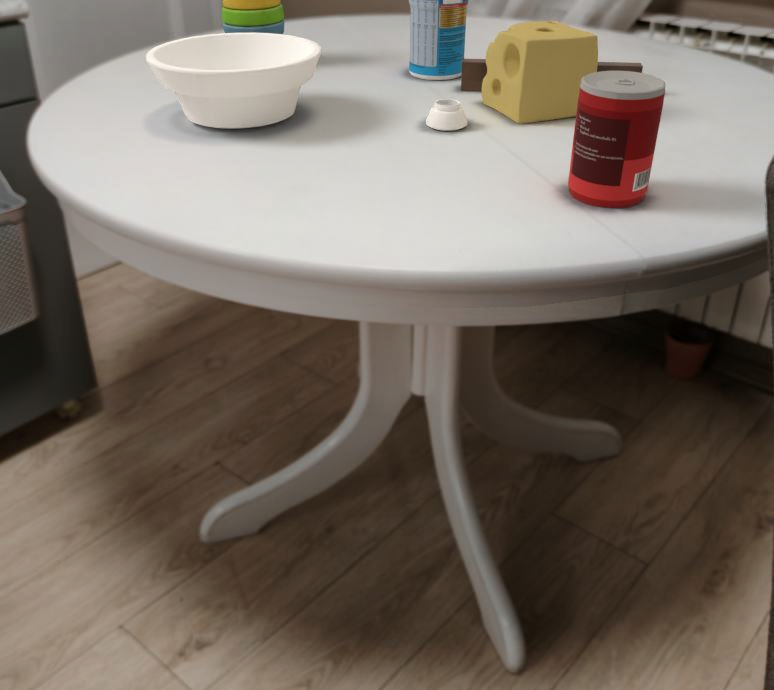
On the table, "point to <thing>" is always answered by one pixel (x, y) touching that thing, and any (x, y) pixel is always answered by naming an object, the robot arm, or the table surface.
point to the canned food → (615, 137)
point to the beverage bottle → (437, 38)
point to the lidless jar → (446, 115)
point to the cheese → (538, 70)
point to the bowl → (236, 76)
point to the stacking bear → (253, 16)
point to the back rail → (478, 69)
